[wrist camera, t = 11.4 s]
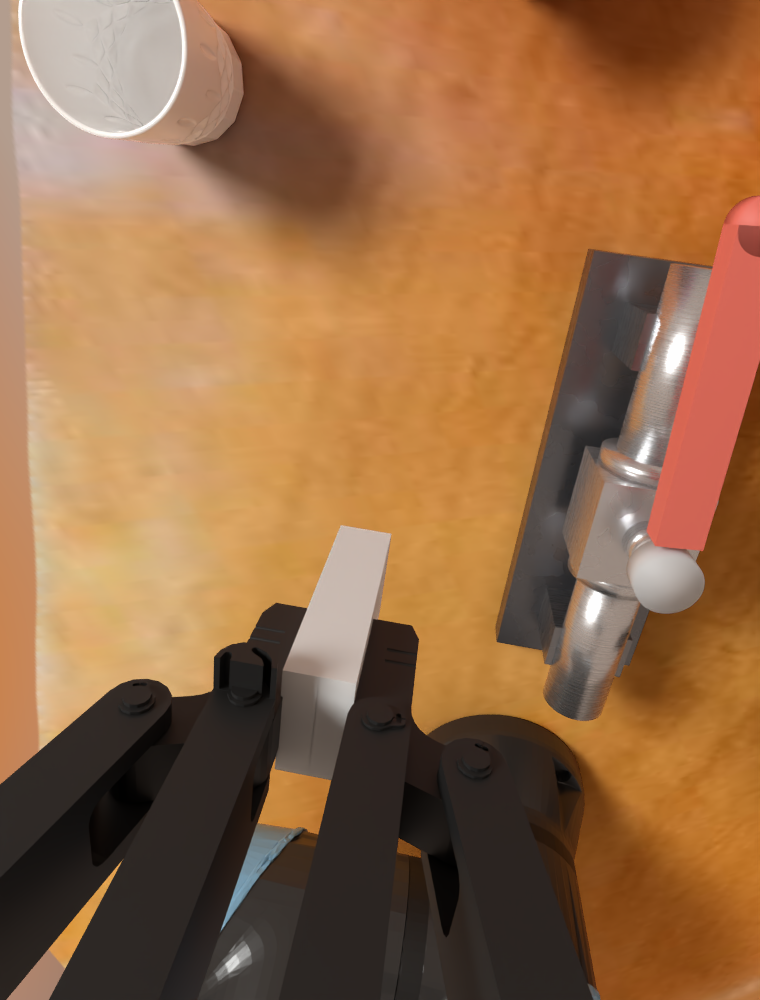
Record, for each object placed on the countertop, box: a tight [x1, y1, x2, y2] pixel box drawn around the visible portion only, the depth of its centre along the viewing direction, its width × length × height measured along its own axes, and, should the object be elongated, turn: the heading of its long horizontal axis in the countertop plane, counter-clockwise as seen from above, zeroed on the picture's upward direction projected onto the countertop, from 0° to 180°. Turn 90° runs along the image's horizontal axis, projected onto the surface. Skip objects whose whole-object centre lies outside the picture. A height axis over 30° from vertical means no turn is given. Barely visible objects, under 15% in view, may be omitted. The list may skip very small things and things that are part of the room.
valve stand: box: [496, 249, 719, 721], centre depth 39 cm, size 28×10×12 cm, turn 173°
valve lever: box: [626, 196, 760, 614], centre depth 28 cm, size 19×3×2 cm, turn 177°
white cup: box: [19, 0, 244, 146], centre depth 33 cm, size 8×8×10 cm
